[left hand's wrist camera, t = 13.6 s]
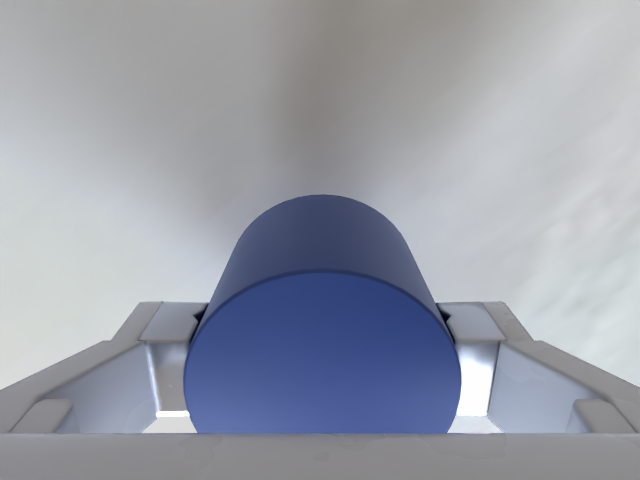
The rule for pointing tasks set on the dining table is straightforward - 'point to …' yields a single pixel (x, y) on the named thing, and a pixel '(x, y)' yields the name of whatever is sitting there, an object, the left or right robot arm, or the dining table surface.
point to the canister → (322, 331)
